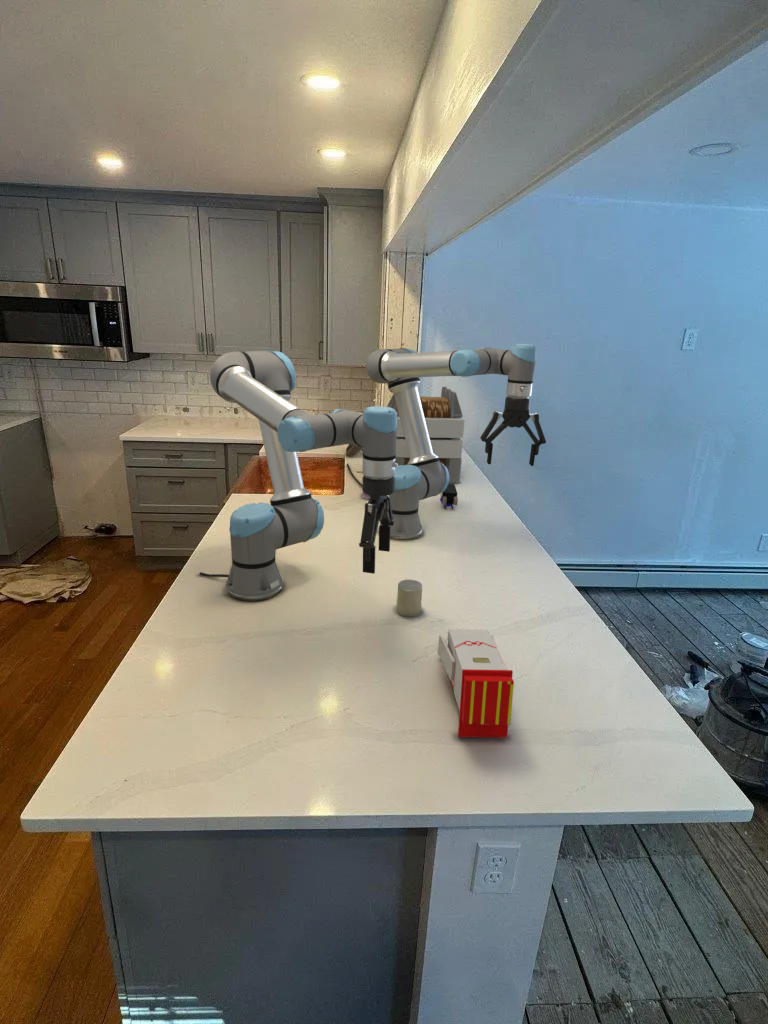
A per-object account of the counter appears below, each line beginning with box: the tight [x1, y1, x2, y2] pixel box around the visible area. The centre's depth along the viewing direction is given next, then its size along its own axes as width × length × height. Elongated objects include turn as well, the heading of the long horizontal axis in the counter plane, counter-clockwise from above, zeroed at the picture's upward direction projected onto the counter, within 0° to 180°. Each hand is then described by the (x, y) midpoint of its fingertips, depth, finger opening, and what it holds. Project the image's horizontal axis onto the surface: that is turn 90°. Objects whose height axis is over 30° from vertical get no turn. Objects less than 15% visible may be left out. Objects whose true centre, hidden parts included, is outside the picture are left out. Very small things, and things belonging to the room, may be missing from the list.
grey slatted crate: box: [386, 386, 465, 484], centre depth 268 cm, size 34×33×41 cm
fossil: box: [345, 444, 363, 458], centre depth 306 cm, size 22×10×15 cm
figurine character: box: [439, 483, 459, 510], centre depth 230 cm, size 7×8×15 cm
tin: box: [396, 579, 423, 617], centre depth 148 cm, size 6×6×8 cm
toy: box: [437, 628, 515, 738], centre depth 117 cm, size 12×13×30 cm
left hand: (376, 561), depth 137 cm, fingers open, 13 cm apart
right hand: (510, 464), depth 180 cm, fingers open, 13 cm apart
